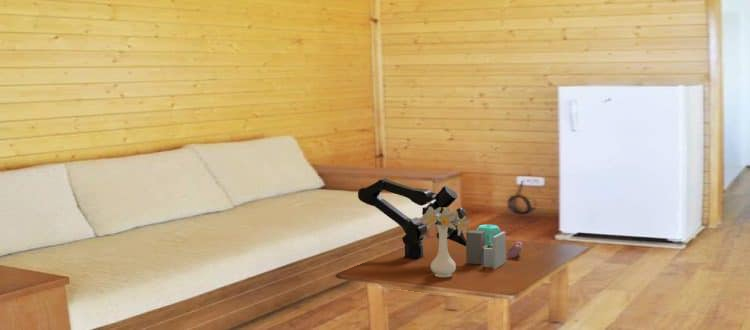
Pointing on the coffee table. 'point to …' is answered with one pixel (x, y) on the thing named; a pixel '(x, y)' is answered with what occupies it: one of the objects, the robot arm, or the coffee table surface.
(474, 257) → the plug
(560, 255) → the coffee table surface
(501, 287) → the coffee table surface
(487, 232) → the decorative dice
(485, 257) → the arched bridge stand
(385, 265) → the coffee table surface
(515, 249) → the video game controller
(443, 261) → the flower vase
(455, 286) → the coffee table surface
